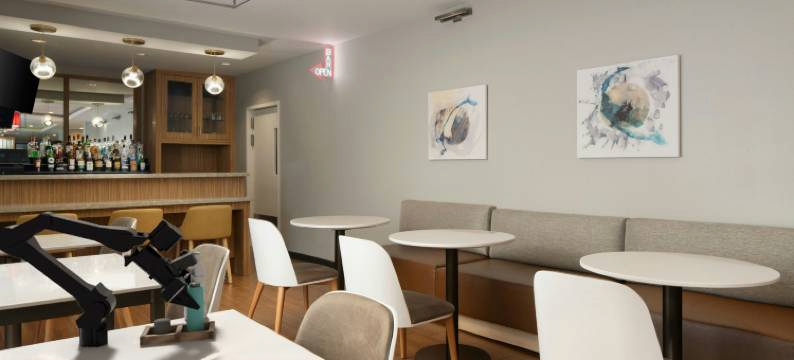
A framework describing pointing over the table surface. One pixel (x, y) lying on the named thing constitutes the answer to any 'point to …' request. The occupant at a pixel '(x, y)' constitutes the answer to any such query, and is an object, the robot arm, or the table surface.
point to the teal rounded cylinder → (192, 315)
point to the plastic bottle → (198, 278)
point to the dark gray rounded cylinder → (162, 326)
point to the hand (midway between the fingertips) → (200, 303)
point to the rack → (177, 334)
